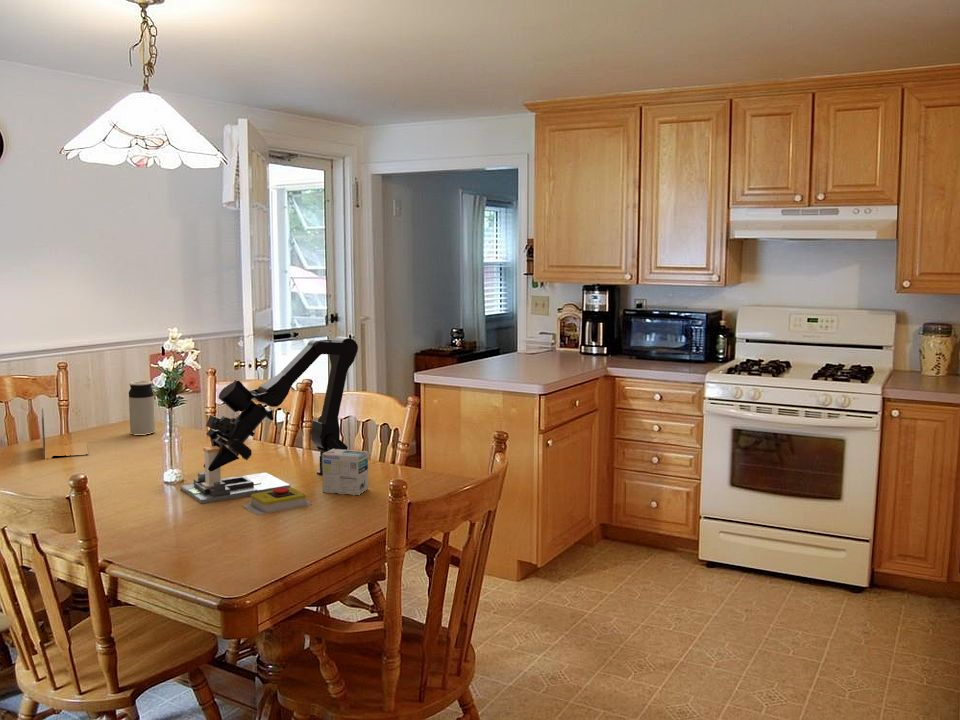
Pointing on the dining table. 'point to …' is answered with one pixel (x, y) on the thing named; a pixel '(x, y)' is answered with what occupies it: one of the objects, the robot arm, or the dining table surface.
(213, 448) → the handle
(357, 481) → the light bulb box
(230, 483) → the breaker panel
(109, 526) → the dining table surface
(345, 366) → the robot arm
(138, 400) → the travel mug
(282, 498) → the emergency button
